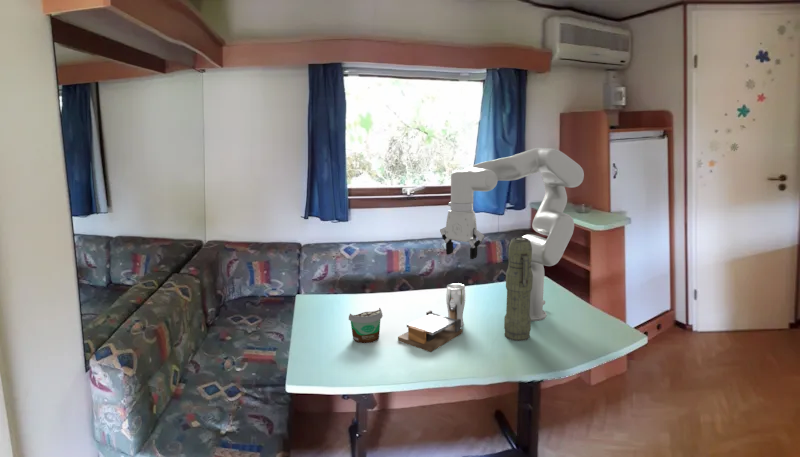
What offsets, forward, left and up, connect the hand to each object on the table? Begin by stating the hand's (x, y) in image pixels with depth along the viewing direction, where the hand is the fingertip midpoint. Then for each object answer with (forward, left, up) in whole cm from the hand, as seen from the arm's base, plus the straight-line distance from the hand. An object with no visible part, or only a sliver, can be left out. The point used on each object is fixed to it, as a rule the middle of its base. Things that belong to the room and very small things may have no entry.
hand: (461, 256), depth 174 cm
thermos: (-10, +17, -28) cm, 35 cm away
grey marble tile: (+9, -6, -24) cm, 27 cm away
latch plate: (+10, -6, -28) cm, 30 cm away
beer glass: (-5, -5, -28) cm, 29 cm away
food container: (+25, -21, -28) cm, 43 cm away
